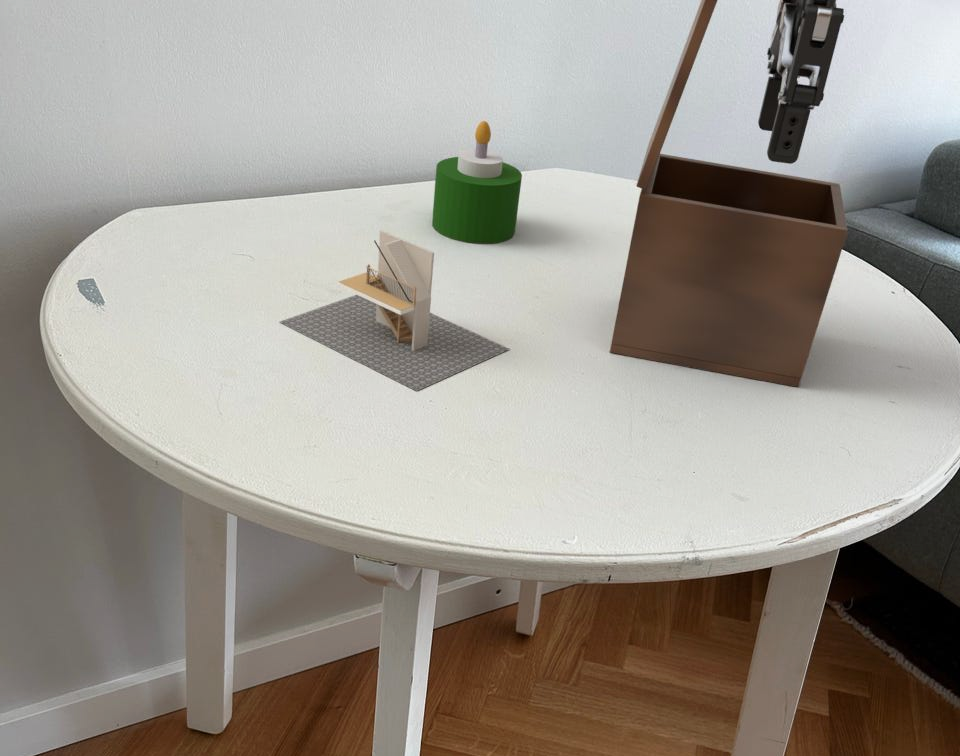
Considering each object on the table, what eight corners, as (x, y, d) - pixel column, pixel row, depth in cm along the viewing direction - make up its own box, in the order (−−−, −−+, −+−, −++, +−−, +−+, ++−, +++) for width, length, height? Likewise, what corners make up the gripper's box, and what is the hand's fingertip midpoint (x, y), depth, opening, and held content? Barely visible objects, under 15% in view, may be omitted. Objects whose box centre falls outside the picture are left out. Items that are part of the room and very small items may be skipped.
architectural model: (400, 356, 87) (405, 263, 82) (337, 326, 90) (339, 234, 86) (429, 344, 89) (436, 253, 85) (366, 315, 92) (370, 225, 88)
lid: (740, -76, 82) (730, -80, 82) (737, -54, 73) (726, -59, 73) (657, 147, 92) (648, 144, 92) (646, 190, 83) (635, 186, 83)
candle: (442, 207, 114) (451, 103, 108) (521, 221, 113) (534, 117, 107) (423, 234, 108) (431, 124, 101) (506, 249, 107) (519, 140, 101)
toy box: (795, 330, 99) (839, 183, 91) (798, 387, 90) (848, 230, 82) (623, 299, 101) (651, 151, 92) (609, 352, 92) (639, 194, 84)
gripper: (914, -89, 69) (836, 180, 79) (878, -113, 80) (813, 126, 90) (793, -104, 69) (732, 166, 80) (774, -126, 80) (721, 114, 91)
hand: (775, 144), depth 85 cm, fingers open, 8 cm apart
